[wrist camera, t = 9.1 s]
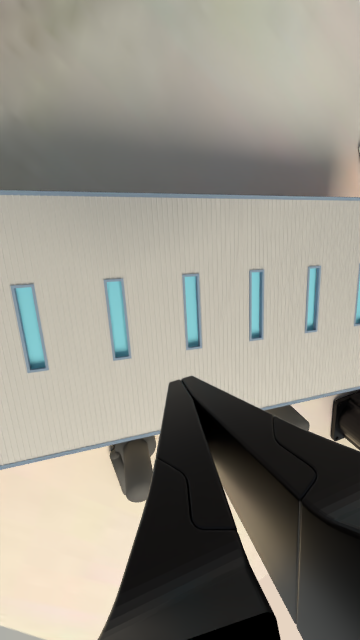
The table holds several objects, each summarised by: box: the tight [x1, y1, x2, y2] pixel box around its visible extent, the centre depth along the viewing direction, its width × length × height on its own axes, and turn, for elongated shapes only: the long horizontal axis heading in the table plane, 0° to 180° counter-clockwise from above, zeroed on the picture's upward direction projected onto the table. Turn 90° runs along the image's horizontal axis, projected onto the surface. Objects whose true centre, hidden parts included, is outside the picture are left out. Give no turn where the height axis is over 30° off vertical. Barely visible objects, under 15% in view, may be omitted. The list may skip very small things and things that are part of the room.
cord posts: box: [110, 405, 309, 502], centre depth 25 cm, size 8×24×5 cm, turn 100°
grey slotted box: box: [0, 190, 360, 470], centre depth 18 cm, size 30×14×8 cm, turn 91°
